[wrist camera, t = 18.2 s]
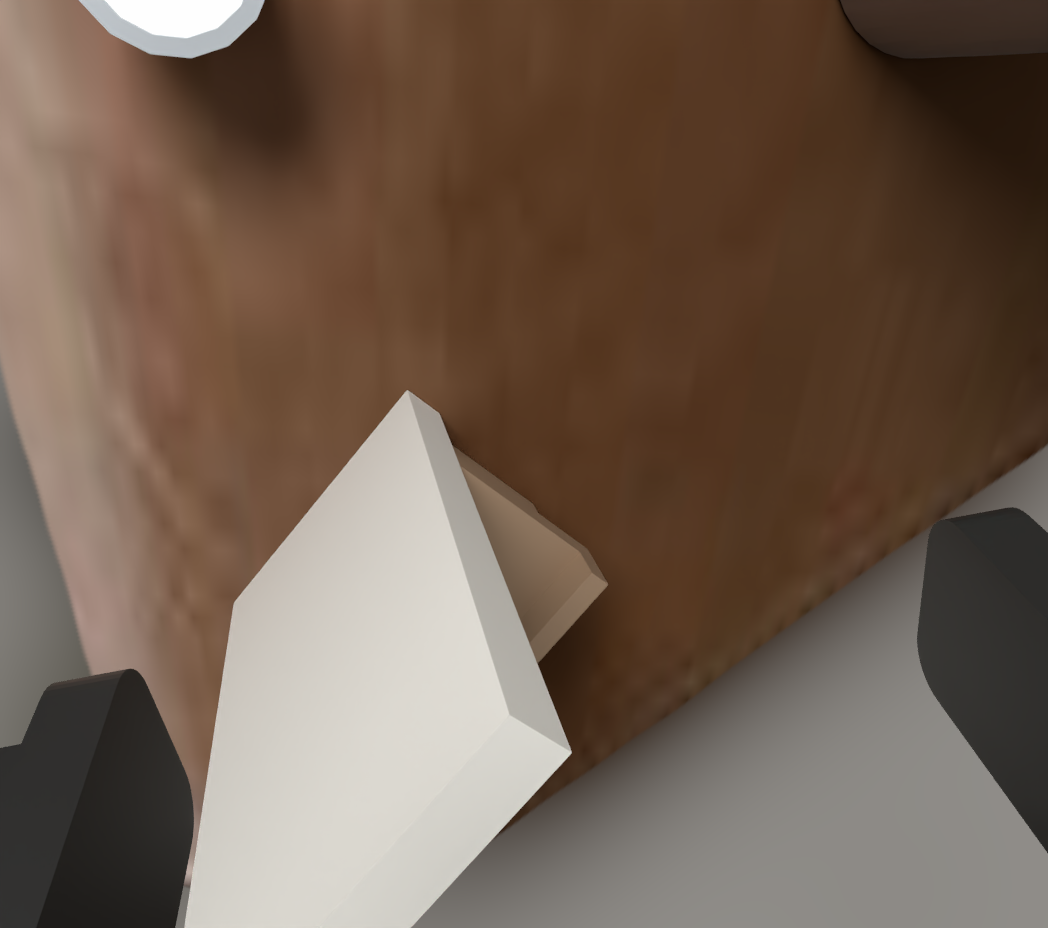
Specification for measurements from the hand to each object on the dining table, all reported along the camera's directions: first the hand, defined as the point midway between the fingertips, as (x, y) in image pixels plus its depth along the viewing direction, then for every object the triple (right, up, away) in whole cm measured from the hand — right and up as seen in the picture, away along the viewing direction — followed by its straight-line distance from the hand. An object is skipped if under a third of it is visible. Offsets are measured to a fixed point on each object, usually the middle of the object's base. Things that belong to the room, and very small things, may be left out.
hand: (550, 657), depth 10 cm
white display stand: (-7, -2, +39) cm, 39 cm away
